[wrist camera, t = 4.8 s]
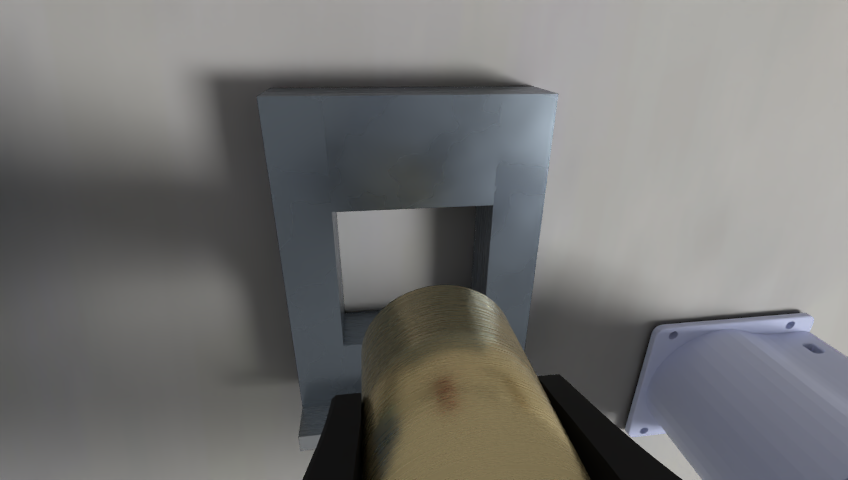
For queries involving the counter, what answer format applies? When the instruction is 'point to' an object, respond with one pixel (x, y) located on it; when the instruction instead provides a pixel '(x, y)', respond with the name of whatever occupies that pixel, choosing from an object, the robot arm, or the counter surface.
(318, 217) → the frame
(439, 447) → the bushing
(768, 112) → the counter surface
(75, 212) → the counter surface
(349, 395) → the robot arm
